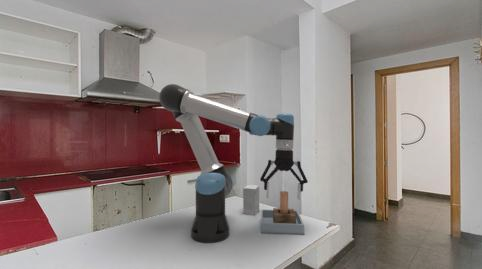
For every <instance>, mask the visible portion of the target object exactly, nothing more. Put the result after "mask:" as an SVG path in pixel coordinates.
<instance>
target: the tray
mask: <svg viewBox="0 0 482 269" xmlns="http://www.w3.org/2000/svg"><path fill="white" fill-rule="evenodd" d="M294 212H295V214H296V224H287V223H274V222H273V209H261V210H260V233H261V234H273V235H274V234H275V235H300V236H304V235H305V224H304V222H303V220H302V218H301V215H300V212H299V210H294Z"/></svg>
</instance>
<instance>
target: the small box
mask: <svg viewBox="0 0 482 269" xmlns="http://www.w3.org/2000/svg"><path fill="white" fill-rule="evenodd" d="M242 193H243V194H242V199H243V200H242V202H243V204H242V206H243V207H242V209H243V210H242V211H243V212H242V213H243V214H244V215H251V216H256V215H257V213H258V212H259V211H260V185H258V184H257V185H255V184H247V185H245V186H244V187H243V190H242Z"/></svg>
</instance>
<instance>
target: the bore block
mask: <svg viewBox="0 0 482 269" xmlns="http://www.w3.org/2000/svg"><path fill="white" fill-rule="evenodd" d="M272 210H273V222H274V223H287V224H296V214H295V212H294V211H295V209H294V208H288V214H281V213H280V207H279V208H277V207H273V208H272Z"/></svg>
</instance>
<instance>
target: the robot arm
mask: <svg viewBox="0 0 482 269" xmlns="http://www.w3.org/2000/svg"><path fill="white" fill-rule="evenodd" d="M158 98H159V102H160V105H161V106H162V107H163V109H165V110H166V111H169V112H172V115H173V117H174V120H175V121H176V122H179V123H180V124H181V127H182V128H183V132H184V134H185V136H186V138H187V140H188V142H189V145H190V147H191V150H192V152H193V155H194V156H195V159H196V161H197V164H198V165H199V168H200V170H201V171H200V174H199V175H198V176H197V177H196V178H195V216H194V220H193V222H192V226H191V231H190V234H191V235H190V237H191V238H192V240H195V241H197V242H199V243H200V242H201V243H217V242H220V241H224V240H226V239H227V238H229V236H230V225H229V223H228V220H227V216H226V199H227V198H226V197H228V195H229V194H230V193H231V191H232V189H233V178H232V176H231V174H230V173H229V172H227V169H226V168H225V165H224V164H223V163H221V162H219V160H218V158H217V155H216V153H215V151H214V149H213V146H212V144H211V142H210V138H208V134H207V133H206V130H205V128H204V126H203V124H202V121H201V119H200V117H201V118H205V119H207V120H211V121H213V122H217V123H219V124H223V125H225V126H228V127H231V128H235V129H238V130H241V131H244V132H247V133H248V134H249V135H251V136H256V137H257V136H258V137H263V136H275V149H276V150H275V158H274V159H275V160H272V159H268V161H267V165H266V167H265V169H264V171H263V172H262V175H261V177H260V182H263V185H264V186H263V189H264V191H266V199H269V189H270V187H269V186H270V183H269V181H270V180H271V178H273V176H274V175H275V174H276V173H277V172H278V171H280V172H283V171H284V172H289V171H290V172H291V174H292V175H293V176H294V177H295V178H296V180H297V181H298V182H299V183H297V199H298V201H299V200H301V192H303V191H304V184H307V183H309V182H308V179H307V177H306V174H305V173H304V171H303V168H302V165H301V161H300V160H297V161H294V151H293V149H294V137H295V136H294V132H295V117H294V115H293V114H292V113H277V114H276V117H274V118H271V117H270V118H268V117H267V116H265V115H263V114H262V115H261V114H256V113H252V112H250V111H247V110H244V109H240V108H237V107H234V106H231V105H228V104H224V103H223V102H222V103H221V102H218V101H215V100H213V99H208V98H206V97H203V96H200V95H196V94H195V93H194V92H193V91H191V90H190V89H188V88H184V87H183V86H181V85H179V84H174V83H171V84H167V85H165V86H163V88H161V90H160V92H159V96H158ZM273 165H275V167H274V169H273V170H272V171H271V172H270V173H269V174H268V172H269V170H270V168H271V166H273ZM294 165H295V166H296V167H297V169H298V172H299V173H300V176H301V178H302V179H301V178H300V176H299V175H298V174H297V173H296V172H295V170H294V169H293V166H294ZM267 174H268V175H267ZM266 175H267V176H266Z"/></svg>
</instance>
